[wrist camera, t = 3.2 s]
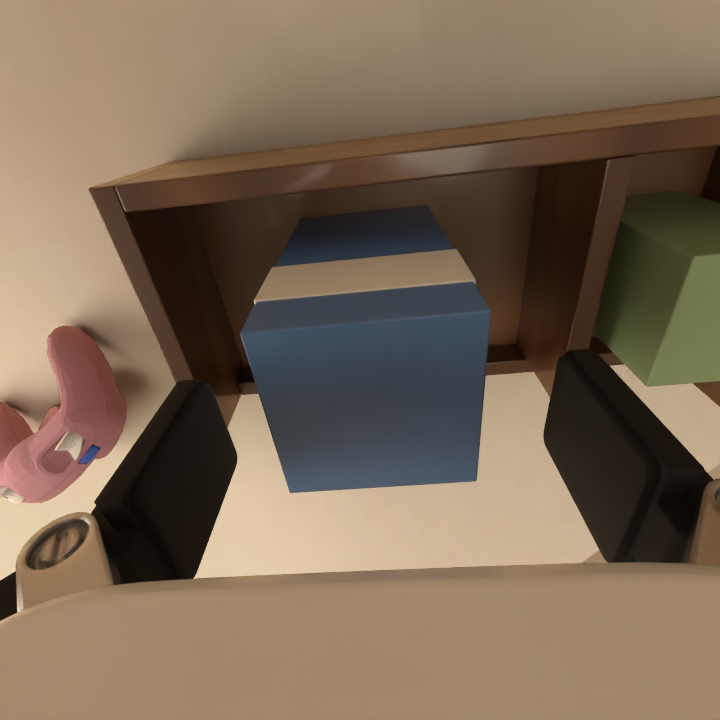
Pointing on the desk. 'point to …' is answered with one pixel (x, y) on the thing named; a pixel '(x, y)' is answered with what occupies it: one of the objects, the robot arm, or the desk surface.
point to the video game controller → (62, 423)
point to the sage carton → (664, 289)
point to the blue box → (371, 353)
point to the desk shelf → (407, 189)
